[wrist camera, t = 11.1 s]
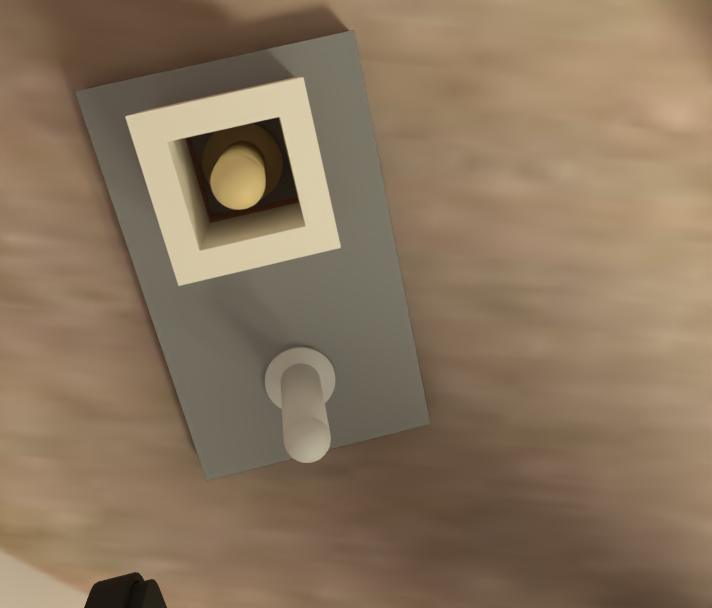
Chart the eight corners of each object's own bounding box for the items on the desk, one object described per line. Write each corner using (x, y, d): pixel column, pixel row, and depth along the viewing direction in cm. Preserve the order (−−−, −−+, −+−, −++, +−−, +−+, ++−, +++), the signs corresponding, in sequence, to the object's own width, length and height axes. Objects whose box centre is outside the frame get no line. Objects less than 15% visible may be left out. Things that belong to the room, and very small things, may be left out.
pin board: (424, 412, 33) (467, 502, 26) (208, 467, 33) (193, 573, 26) (350, 31, 27) (380, 15, 20) (82, 90, 27) (17, 95, 20)
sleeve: (295, 77, 26) (303, 77, 21) (325, 213, 28) (340, 248, 23) (155, 107, 26) (125, 116, 20) (195, 243, 28) (178, 286, 22)
